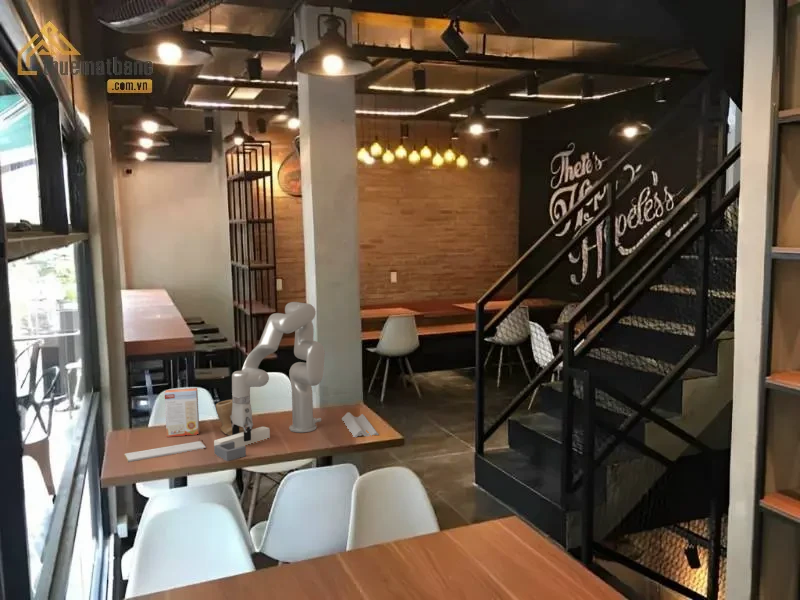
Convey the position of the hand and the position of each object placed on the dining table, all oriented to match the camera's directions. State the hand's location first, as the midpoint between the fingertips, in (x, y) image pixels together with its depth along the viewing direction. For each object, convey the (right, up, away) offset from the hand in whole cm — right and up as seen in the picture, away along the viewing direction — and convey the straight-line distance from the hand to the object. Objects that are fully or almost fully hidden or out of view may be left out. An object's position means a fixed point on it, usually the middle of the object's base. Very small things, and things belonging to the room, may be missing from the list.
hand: (241, 438), depth 286 cm
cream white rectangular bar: (0, -3, +1) cm, 3 cm away
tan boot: (-9, -1, +18) cm, 21 cm away
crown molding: (+50, -1, +26) cm, 56 cm away
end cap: (-1, -4, -13) cm, 14 cm away
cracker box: (-31, -2, +16) cm, 35 cm away
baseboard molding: (-31, -5, -7) cm, 32 cm away
